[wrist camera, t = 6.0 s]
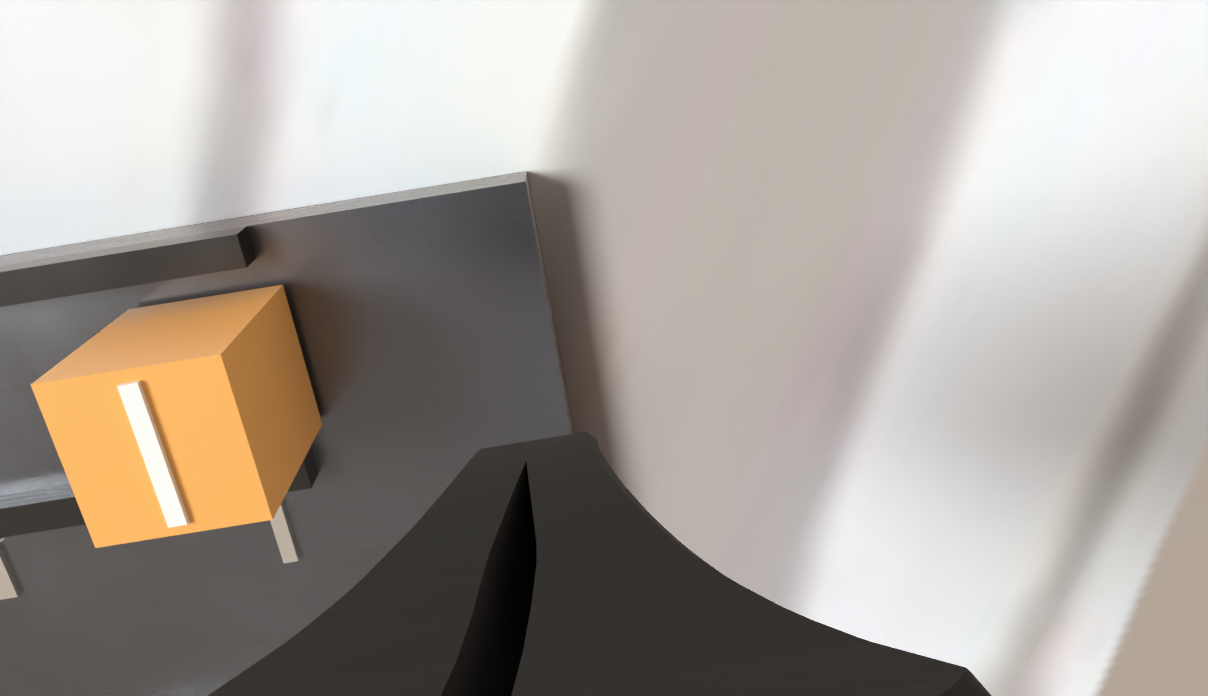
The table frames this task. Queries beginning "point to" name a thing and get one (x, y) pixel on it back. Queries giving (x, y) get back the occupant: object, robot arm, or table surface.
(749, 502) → the table surface
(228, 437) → the fader
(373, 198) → the console
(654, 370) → the table surface
